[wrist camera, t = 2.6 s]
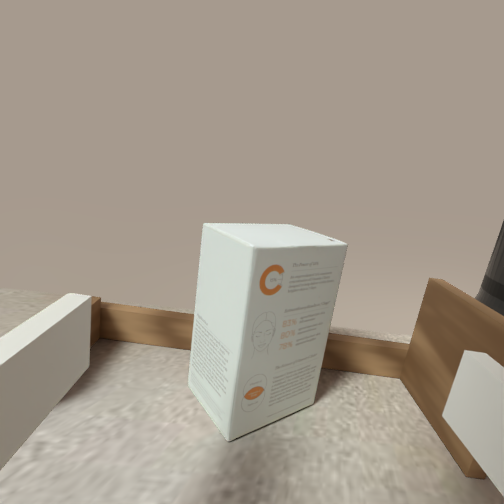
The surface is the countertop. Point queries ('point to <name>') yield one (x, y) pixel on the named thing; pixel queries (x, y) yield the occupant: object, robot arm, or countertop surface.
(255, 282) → the small box
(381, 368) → the wooden u-shaped frame
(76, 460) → the countertop surface
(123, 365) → the countertop surface
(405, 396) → the countertop surface
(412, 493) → the countertop surface
